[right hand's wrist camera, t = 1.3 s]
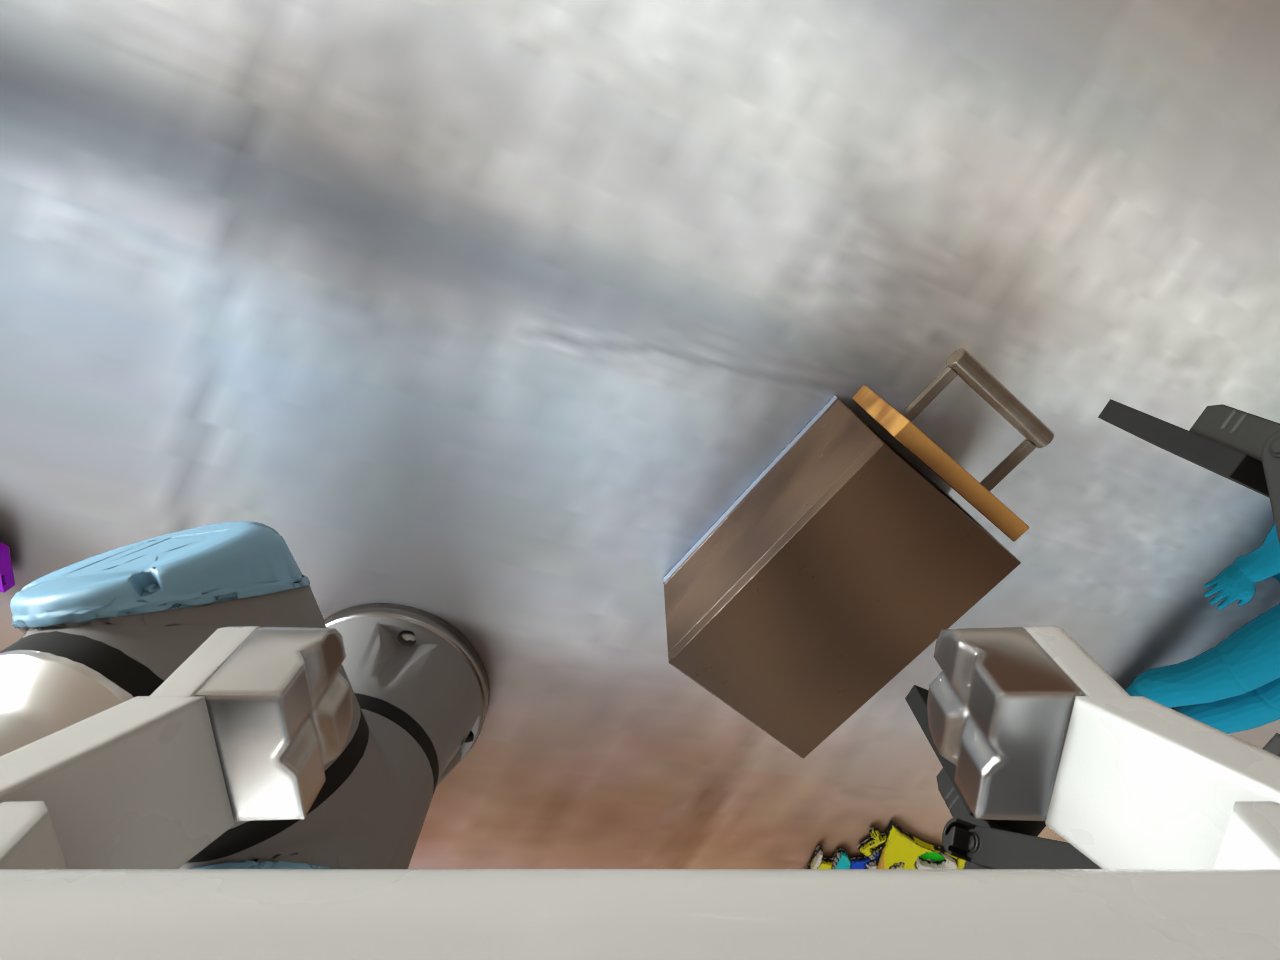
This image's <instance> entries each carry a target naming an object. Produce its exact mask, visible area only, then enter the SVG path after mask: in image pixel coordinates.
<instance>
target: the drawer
mask: <svg viewBox="0 0 1280 960" xmlns="http://www.w3.org/2000/svg"><path fill="white" fill-rule="evenodd" d="M947 365H948V366H949V367H946V368H945V369H944V370H943V371H942V372H941V373H940V374H939V375H938V377H937V378H936V379H935V380H934V381H933V382H932V383H931V384H930V385H929V386H928V387H927V388H926V389H925V390H924V391H923V392H922V393H921V394H920V395H919V396H918V397H917V398H916V399H915V400H914V401H913V402H912V403H911V404H910V405H909V406H908V407H907V408H906V409H905V410H904V411H903V412H902V413H899V412H898V411H897V410H896V409H894V408H893V407H892V406H891V405H889V404H888V403H887V402H886V401H884V400H883V399H882V398H881V397H879V396H878V395H877V394H876V393H874V392H873V391H872V390H871V389H869V388H868V387H867V386H866V385H863V386H862V387H861V388H860V390H859V391H858V392H857V393H856V394H855V395H854V396H853V397H852V399H853V400H854V401H855V402H856V403H857V404H859V405H860V406H861V407H862V408H863V409H864V410H865V411H866V412H867V413H868V414H870V415H871V416H872V417H873V418H874V419H875V420H876V421H877V422H878V423H879V424H880V425H882V426H883V427H884V428H885V429H886V430H887V431H888V432H889V433H890V434H891V435H893V436H894V437H895V438H896V439H897V440H898V441H899V442H900V443H902V444H903V445H904V446H905V447H906V448H907V449H908V450H910V451H911V452H912V453H913V454H914V455H915V456H916V457H918V458H919V459H920V460H921V461H922V462H923V463H924V464H926V465H927V466H928V467H929V468H930V469H931V470H932V471H934V472H935V473H936V474H937V475H938V476H939V477H940V478H942V479H943V480H944V481H945V482H946V483H947V484H948V485H950V486H951V487H952V488H953V489H954V490H955V491H956V492H958V493H959V494H960V495H961V496H962V497H963V498H964V499H966V500H967V501H968V502H969V503H970V504H971V505H972V506H974V507H975V508H976V509H977V510H978V511H979V512H980V513H982V514H983V515H984V516H985V517H986V518H987V519H988V520H990V521H991V522H992V523H993V524H994V525H995V526H996V527H998V528H999V529H1000V530H1001V531H1002V532H1003V533H1004V534H1006V535H1007V536H1008V537H1009V538H1010V539H1011V540H1012V541H1016V540H1017V539H1018V538H1019V537H1020V536H1021V535H1022V534H1023V533H1024V532H1025V531H1027V530H1028V529H1029V526H1028V525H1026V524H1025V523H1024V522H1023V521H1022V520H1021V519H1020V518H1019V517H1017V516H1016V515H1015V514H1014V513H1013V512H1012V511H1011V510H1010V509H1008V508H1007V507H1006V506H1005V505H1004V504H1003V503H1002V502H1001V501H999V500H998V499H997V498H996V497H995V496H994V495H993V494H992V493H990V492H989V491H991V490H992V489H993V488H994V487H995V486H996V485H997V484H998V483H999V482H1000V481H1001V480H1002V479H1003V478H1004V477H1005V476H1006V475H1007V474H1008V473H1010V472H1011V471H1012V470H1013V469H1014V468H1015V467H1016V466H1017V465H1018V464H1019V463H1020V462H1021V461H1022V460H1023V459H1024V458H1025V457H1026V456H1028V455H1029V454H1030V453H1031V452H1032V451H1033V450H1034V449H1035V448H1036V447H1037V448H1042V447H1044V446H1046V445H1048V444H1049V443H1050V442H1051V441H1052V439H1053V437H1054V434H1053V432H1052V431H1051V430H1050V429H1049V428H1048V427H1047V426H1046V425H1045V424H1043V423H1042V422H1041V421H1040V420H1039V419H1038V418H1037V417H1036V416H1035V415H1034V414H1033V413H1032V412H1031V411H1030V410H1029V409H1028V408H1026V407H1025V406H1024V405H1023V404H1022V403H1021V402H1020V401H1019V400H1018V399H1017V398H1016V397H1015V396H1014V395H1013V394H1012V393H1011V392H1009V391H1008V390H1007V389H1006V388H1005V387H1004V386H1003V385H1002V384H1001V383H1000V382H999V381H998V380H997V379H996V378H995V377H994V376H992V375H991V374H990V373H989V372H988V371H987V370H986V369H985V368H984V367H983V366H982V365H981V364H980V363H979V362H978V361H976V360H975V359H974V358H973V357H972V356H971V355H970V354H969V353H968V352H967V351H966V350H965V349H958V350H957V351H955V352H954V353H953V354H952V355H951V356H950V357H949V358H948V360H947ZM957 375H958V376H959V377H961V378H962V379H963V380H964V381H965V382H966V383H967V384H968V385H969V386H970V387H971V388H972V389H973V390H975V391H976V392H977V393H978V394H979V395H980V396H981V397H982V398H983V399H984V400H985V401H986V402H988V403H989V404H990V405H991V406H992V407H993V408H994V409H995V410H996V411H997V412H998V413H999V414H1000V415H1002V416H1003V417H1004V418H1005V419H1006V420H1007V421H1008V422H1009V423H1010V424H1011V425H1012V426H1013V427H1014V428H1016V429H1017V430H1018V431H1019V432H1020V433H1021V434H1022V435H1023V436H1024V437H1025V438H1026V440H1024V441H1023V442H1022V443H1021V444H1020V445H1019V446H1018V447H1017V448H1016V449H1015V450H1014V451H1013V452H1012V453H1011V454H1010V455H1009V456H1008V457H1007V458H1005V459H1004V460H1003V461H1002V462H1001V463H1000V464H999V465H998V466H997V467H996V468H995V469H994V470H993V471H992V472H991V473H990V474H989V475H988V476H987V477H986V478H985V479H983V480H982V481H981V482H980V483H979V482H978V481H977V480H976V479H975V478H974V477H972V476H971V475H970V474H969V473H968V472H967V471H966V470H965V469H963V468H962V467H961V466H960V465H959V464H958V463H957V462H956V461H954V460H953V459H952V458H951V457H950V456H949V455H948V454H946V453H945V452H944V451H943V450H942V449H941V448H940V447H939V446H937V445H936V444H935V443H934V442H933V441H932V440H931V439H930V438H928V437H927V436H926V435H925V434H924V433H923V432H922V431H921V430H919V429H918V428H917V427H916V426H915V425H914V424H913V423H912V422H911V421H912V420H913V419H914V418H915V417H916V416H917V415H918V414H919V413H920V412H921V411H922V410H923V409H924V408H925V407H926V406H927V405H928V404H929V403H930V402H931V401H932V400H933V399H934V398H935V397H936V396H937V395H938V394H939V393H940V392H941V391H942V390H943V389H944V388H945V387H946V386H947V385H948V384H949V383H950V382H951V381H952V380H953V379H954V378H955V377H956V376H957ZM1028 440H1029V441H1028Z"/></svg>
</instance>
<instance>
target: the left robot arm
mask: <svg viewBox="0 0 1280 960" xmlns="http://www.w3.org/2000/svg"><path fill="white" fill-rule="evenodd" d="M1098 418H1100V419H1103V420H1105V421H1107V422H1109V423H1111V424H1113V425H1115V426H1117V427H1119V428H1121V429H1123V430H1125V431H1127V432H1129V433H1131V434H1133V435H1135V436H1137V437H1139V438H1141V439H1143V440H1145V441H1148V442H1150V443H1152V444H1154V445H1156V446H1158V447H1160V448H1162V449H1164V450H1167V451H1169V452H1171V453H1173V454H1175V455H1177V456H1180V457H1182V458H1184V459H1186V460H1188V461H1191V462H1193V463H1195V464H1197V465H1199V466H1201V467H1204V468H1206V469H1208V470H1210V471H1212V472H1215V473H1217V474H1219V475H1221V476H1223V477H1225V478H1228V479H1230V480H1232V481H1234V482H1236V483H1239V484H1241V485H1243V486H1245V487H1247V488H1249V489H1252V490H1254V491H1256V492H1258V493H1260V494H1263V495H1265V496H1267V497H1269V498H1270V502H1271V506H1272V511H1273V516H1274V521H1275V526H1276V530H1277V535H1278V540H1279V545H1280V424H1279V423H1276V422H1273V421H1270V420H1267V419H1264V418H1261V417H1258V416H1255V415H1252V414H1249V413H1246V412H1243V411H1240V410H1237V409H1235V408H1232V407H1229V406H1226V405H1214V406H1207V407H1206V409H1205V410H1204V411H1203V413H1202V414H1201V415H1200V417H1199V418H1198V420H1197V421H1196V422H1195V424H1194V425H1193V426H1192V428H1191V429H1190V430H1189V431H1187V430H1185V429H1183V428H1180V427H1178V426H1175V425H1173V424H1170V423H1168V422H1165V421H1163V420H1160V419H1158V418H1155V417H1153V416H1150V415H1148V414H1145V413H1143V412H1141V411H1138V410H1136V409H1133V408H1131V407H1128V406H1126V405H1123V404H1121V403H1118V402H1116V401H1113V400H1111V399H1110V401H1109V402H1108V404H1107V405H1106V406H1105V408H1104V409H1103V411H1102V412H1101V414H1100V415H1099V417H1098ZM309 585H310V582H309V579H308V577H306V576H304V575H302V573H301V571H300V569H299V567H298V565H297V563H296V561H295V560H294V558H293V556H292V554H291V552H290V550H289V548H288V546H287V544H286V542H285V540H284V539H283V537H282V536H280V535H279V533H278V532H277V531H275V530H274V529H272V528H270V527H268V526H266V525H264V524H262V523H257V522H249V521H240V522H226V523H219V524H213V525H207V526H202V527H196V528H192V529H188V530H183V531H179V532H175V533H171V534H167V535H163V536H159V537H155V538H152V539H148V540H144V541H141V542H138V543H134V544H131V545H127V546H124V547H121V548H118V549H115V550H111V551H108V552H105V553H102V554H99V555H96V556H93V557H91V558H88V559H85V560H82V561H80V562H77V563H74V564H72V565H69V566H67V567H64V568H62V569H59V570H57V571H54V572H52V573H50V574H47V575H45V576H43V577H41V578H39V579H37V580H35V581H33V582H31V583H29V584H28V585H26V586H25V587H24V588H23V589H22V590H21V591H19V592H17V593H16V594H15V596H14V597H13V599H12V600H11V610H12V614H13V618H12V622H13V623H12V624H13V626H14V627H15V628H18V629H19V630H21V631H22V632H23V633H24V634H25V636H24V637H23V638H21V639H20V640H18V641H17V642H16V643H14V644H12V645H11V646H9V647H8V648H6V649H4V650H3V651H1V652H0V757H1V756H3V755H5V754H7V753H10V752H12V751H14V750H16V749H19V748H21V747H23V746H26V745H28V744H30V743H32V742H35V741H37V740H39V739H41V738H44V737H46V736H48V735H50V734H53V733H55V732H57V731H60V730H62V729H64V728H66V727H69V726H71V725H73V724H75V723H78V722H80V721H82V720H84V719H87V718H89V717H91V716H93V715H96V714H98V713H100V712H103V711H105V710H107V709H109V708H112V707H114V706H116V705H118V704H121V703H123V702H125V701H127V700H130V699H132V698H134V697H137V696H150V695H151V694H152V693H153V692H154V691H155V690H156V689H157V688H158V687H159V686H160V685H161V684H162V683H163V682H164V681H165V680H166V679H167V678H168V677H169V676H170V675H171V674H172V673H173V672H174V671H175V670H176V669H177V668H178V667H180V666H181V665H182V664H183V663H184V662H185V661H186V660H187V659H188V658H189V657H190V656H191V655H192V654H193V653H194V652H195V651H196V650H197V649H198V648H199V647H200V646H201V645H202V644H203V643H204V642H205V641H206V640H207V639H208V638H209V637H210V636H211V635H212V634H213V633H214V632H215V631H216V630H217V629H219V628H224V627H244V626H259V627H300V628H336V629H337V631H338V632H339V633H340V634H341V635H342V638H343V643H344V648H345V653H346V658H345V659H344V661H343V662H342V664H341V666H340V667H339V669H338V670H337V671H338V672H339V673H340V674H341V675H342V676H343V677H344V678H345V679H346V680H347V682H348V683H349V684H350V685H351V691H352V698H353V718H352V723H351V727H350V731H349V735H348V740H347V741H346V743H345V745H344V747H343V749H342V751H341V753H340V755H339V756H338V757H336V758H334V759H333V760H331V761H330V762H328V763H327V764H325V765H324V772H325V778H326V781H325V782H324V784H323V786H322V788H321V790H320V791H319V793H318V795H317V797H316V799H315V800H314V802H313V804H312V806H311V808H310V809H309V811H308V813H307V815H306V817H305V818H304V819H288V820H253V821H234V823H235V824H234V825H233V826H232V827H231V828H230V829H228V830H227V831H226V832H224V833H223V834H222V835H221V836H219V837H218V838H217V839H216V840H214V841H213V842H212V843H210V844H209V845H208V846H207V847H205V848H204V849H203V850H201V851H200V852H199V853H198V854H196V855H195V856H194V857H193V858H191V859H190V860H189V861H187V862H186V863H185V864H184V865H182V866H181V867H180V868H178V869H408V866H409V863H410V861H411V858H412V855H413V852H414V849H415V846H416V843H417V840H418V837H419V835H420V832H421V829H422V826H423V823H424V820H425V817H426V814H427V811H428V809H429V806H430V803H431V799H432V797H433V794H434V791H435V788H436V787H437V785H438V784H439V783H440V782H441V781H442V780H443V779H444V778H445V777H446V776H447V774H448V773H449V772H450V771H451V770H452V769H453V768H454V767H455V766H456V765H457V763H458V762H459V761H460V760H461V759H462V758H463V757H464V756H465V755H466V754H467V753H468V752H469V750H470V749H471V748H472V746H473V745H474V743H475V742H476V740H477V738H478V736H479V734H480V731H481V728H482V725H483V722H484V719H485V715H486V712H487V708H488V702H489V686H488V680H487V676H486V672H485V669H484V667H483V664H482V662H481V660H480V658H479V656H478V655H477V653H476V652H475V650H474V649H473V647H472V646H471V645H470V644H469V642H468V641H467V640H466V639H465V638H464V637H463V636H462V635H461V634H460V633H459V632H458V631H456V630H455V629H454V628H453V627H451V626H450V625H449V624H447V623H446V622H444V621H442V620H441V619H439V618H437V617H435V616H433V615H431V614H429V613H427V612H424V611H422V610H419V609H415V608H412V607H408V606H403V605H397V604H388V603H374V604H364V605H359V606H354V607H350V608H347V609H344V610H342V611H340V612H337V613H335V614H333V615H332V616H330V617H328V618H326V619H325V620H324V619H323V617H322V614H321V612H320V610H319V607H318V605H317V602H316V600H315V598H314V595H313V593H312V591H311V588H310V586H309ZM928 692H929V691H928V690H926V689H923V688H921V687H918V686H916V685H914V686H913V688H912V689H911V691H910V692H909V694H908V695H907V697H906V698H905V699H906V701H907V703H908V705H909V706H910V708H911V710H912V712H913V714H914V715H915V717H916V719H917V721H918V723H919V724H920V726H921V728H922V730H923V732H924V733H925V735H926V737H927V739H928V741H929V743H930V744H931V746H932V748H933V750H934V752H935V753H936V755H937V757H938V759H939V761H940V762H941V764H942V766H943V769H942V770H941V771H940V773H939V774H938V776H937V782H938V788H939V791H940V793H941V795H942V797H943V799H944V800H945V801H946V802H945V803H946V805H947V807H948V808H949V809H950V812H951V814H952V816H953V818H952V819H951V820H949V821H948V822H947V824H946V825H945V827H944V830H943V835H942V842H943V846H944V849H945V850H946V852H947V853H948V854H950V855H952V856H954V857H957V858H960V859H963V860H965V861H966V862H965V866H964V868H963V869H1102V868H1100V867H1099V866H1098V865H1097V864H1095V863H1094V862H1093V861H1092V860H1090V859H1089V858H1088V857H1086V856H1085V855H1084V854H1083V853H1081V852H1080V851H1079V850H1078V849H1076V848H1075V847H1074V846H1072V845H1071V844H1070V843H1066V842H1061V841H1056V840H1051V839H1046V838H1040V837H1037V836H1038V835H1039V834H1040V832H1041V831H1042V830H1043V829H1044V828H1045V826H1046V824H1045V821H1027V820H991V819H976V818H975V816H974V815H973V813H972V811H971V809H970V808H969V806H968V804H967V802H966V800H965V799H964V797H963V795H962V793H961V791H960V790H959V788H958V786H957V784H956V782H955V781H954V778H955V772H956V765H955V764H953V763H952V762H950V761H949V760H947V759H946V758H944V757H942V756H941V755H940V753H939V751H938V749H937V747H936V745H935V744H934V742H933V739H932V735H931V732H930V729H929V723H928V713H927V700H928ZM1263 750H1265V751H1268V752H1270V753H1272V754H1274V755H1277V756H1279V757H1280V734H1278V733H1276V734H1275V735H1274V737H1273V738H1272V739H1271V740H1270V741H1269V742H1268V743H1267V744H1266V745H1265V747H1264V748H1263Z"/></svg>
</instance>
